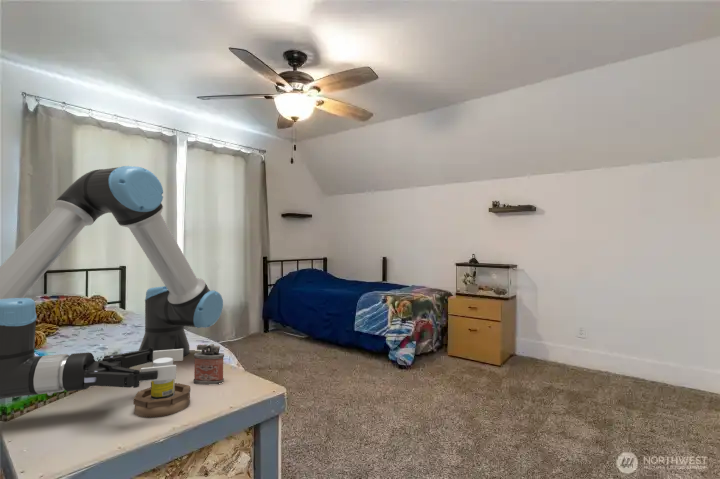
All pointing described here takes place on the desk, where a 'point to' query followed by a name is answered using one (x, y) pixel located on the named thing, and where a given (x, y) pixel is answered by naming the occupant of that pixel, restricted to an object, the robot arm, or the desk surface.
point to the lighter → (208, 365)
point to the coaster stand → (161, 402)
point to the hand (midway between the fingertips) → (179, 362)
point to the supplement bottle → (162, 382)
